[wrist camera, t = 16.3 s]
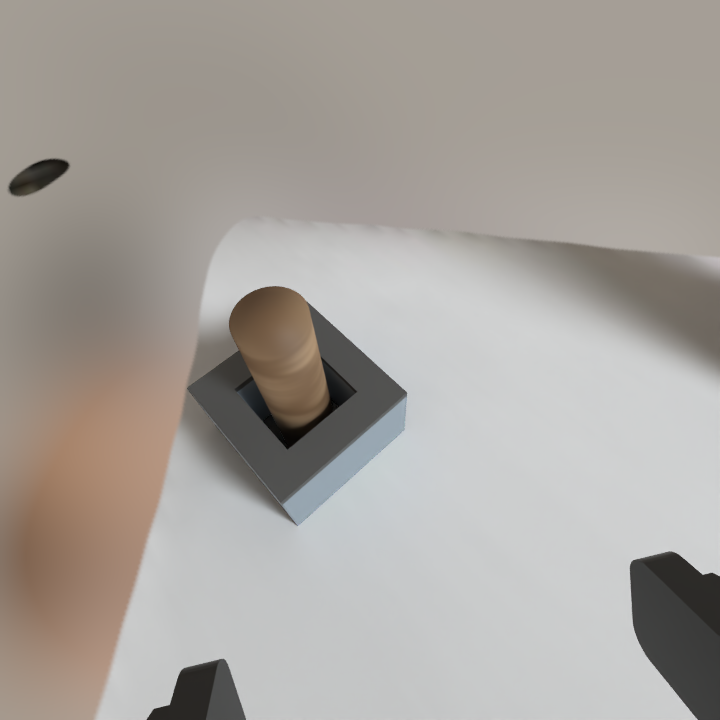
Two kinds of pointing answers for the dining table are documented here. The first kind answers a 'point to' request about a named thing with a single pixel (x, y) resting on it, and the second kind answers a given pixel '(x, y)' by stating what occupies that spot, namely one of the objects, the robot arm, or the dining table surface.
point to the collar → (325, 441)
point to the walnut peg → (283, 358)
